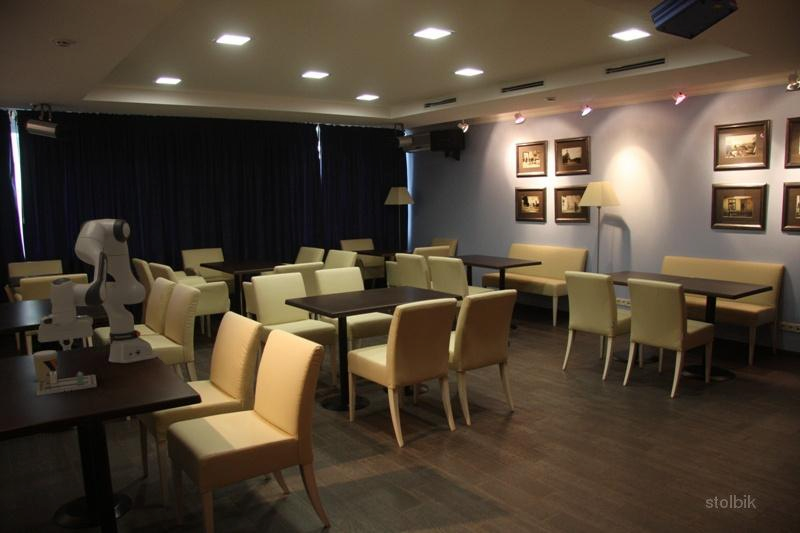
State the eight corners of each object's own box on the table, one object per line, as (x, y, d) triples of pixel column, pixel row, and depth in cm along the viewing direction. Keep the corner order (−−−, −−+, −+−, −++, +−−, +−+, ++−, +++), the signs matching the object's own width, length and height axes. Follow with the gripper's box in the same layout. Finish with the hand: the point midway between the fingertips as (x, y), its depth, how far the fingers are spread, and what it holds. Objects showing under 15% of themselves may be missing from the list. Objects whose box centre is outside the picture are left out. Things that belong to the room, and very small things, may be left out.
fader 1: (57, 380, 261) (56, 370, 260) (56, 382, 257) (56, 372, 256) (50, 381, 260) (49, 371, 259) (50, 383, 256) (49, 373, 255)
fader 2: (83, 381, 259) (82, 371, 258) (83, 384, 255) (83, 373, 254) (77, 382, 257) (76, 372, 257) (77, 384, 254) (76, 374, 253)
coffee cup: (48, 382, 264) (45, 355, 262) (29, 381, 266) (27, 354, 264) (63, 376, 273) (61, 350, 272) (46, 375, 275) (44, 349, 273)
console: (95, 378, 269) (95, 373, 269) (96, 386, 256) (96, 381, 256) (38, 386, 259) (37, 381, 258) (36, 395, 246) (36, 390, 245)
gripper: (92, 313, 259) (94, 344, 260) (36, 318, 249) (39, 351, 251) (92, 315, 253) (95, 347, 255) (36, 321, 243) (39, 354, 245)
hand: (67, 349), depth 253 cm, fingers closed
